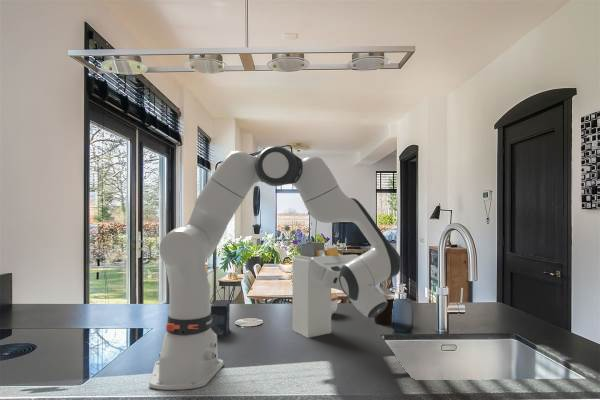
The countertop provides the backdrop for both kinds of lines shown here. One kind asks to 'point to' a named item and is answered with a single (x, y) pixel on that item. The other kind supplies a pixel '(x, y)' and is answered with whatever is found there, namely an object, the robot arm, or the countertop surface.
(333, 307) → the lidded jar
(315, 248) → the grey and orange bar
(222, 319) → the box
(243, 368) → the countertop surface
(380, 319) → the coffee mug
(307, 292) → the tall grey pillar
